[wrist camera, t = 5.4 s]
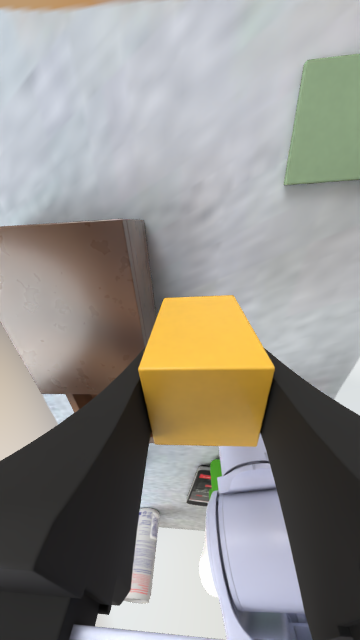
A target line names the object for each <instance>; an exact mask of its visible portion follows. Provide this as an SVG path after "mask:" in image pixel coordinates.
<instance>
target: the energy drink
mask: <svg viewBox="0 0 360 640" xmlns="http://www.w3.org/2000/svg"><path fill="white" fill-rule="evenodd" d="M158 524H159V512H158V511H157V510H155V509H152V508H141V509H140V511H139V519H138V527H137V536H136V545H135V554H134V563H133V572H132V582H131V590H130V592H129V593H128V595H127V597H126V598H125V599H124V600H125V601H128V602H133V603H149V599H150V596H151V589H152V579H153V569H154V561H155V552H156V542H157V533H158Z"/></svg>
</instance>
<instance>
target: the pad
mask: <svg viewBox="0 0 360 640" xmlns="http://www.w3.org/2000/svg"><path fill="white" fill-rule="evenodd" d="M349 180H360V54H353V55H345V56H337V57H328V58H320V59H312V60H307V61H306V63H305V64H304V67H303V73H302V79H301V85H300V91H299V97H298V103H297V109H296V115H295V121H294V127H293V133H292V139H291V145H290V151H289V156H288V162H287V168H286V174H285V180H284V185H295V184H308V183H322V182H335V181H349Z"/></svg>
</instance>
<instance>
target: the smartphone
mask: <svg viewBox="0 0 360 640" xmlns="http://www.w3.org/2000/svg"><path fill="white" fill-rule="evenodd" d="M211 488H212V486H211V473H210V467H208V466H199V467H198V469H197V472H196V475H195V478H194V480H193V483H192V486H191V488H190V491H189V494H188V497H187V503H188V504H192V505H200V506H207V505H208V502H209V490H210V489H211Z"/></svg>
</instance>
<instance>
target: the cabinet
mask: <svg viewBox="0 0 360 640" xmlns="http://www.w3.org/2000/svg"><path fill="white" fill-rule="evenodd" d="M155 321H156V311H155V303H154V295H153V287H152V279H151V272H150V264H149V256H148V248H147V240H146V232H145V225H144V220H134V219H110V220H94V221H79V222H63V223H48V224H33V225H17V226H2V227H0V322H1V324H2V326H3V328H4V329H5V331H6V333H7V335H8V336H9V338H10V340H11V341H12V343H13V345H14V347H15V349H16V350H17V352H18V354H19V355H20V357H21V359H22V361H23V362H24V364H25V366H26V368H27V369H28V371H29V373H30V375H31V376H32V378H33V380H34V382H35V383H36V385H37V386H38V388H39V390H40V392H41V394H99V393H100V392H102V391H103V390H104V389H105V388H106V387H107V386H108V385H109V384H110V383H111V382H112V381H113V380H114V379H116V378H117V377H118V376H119V375H120V374H121V373H122V372H123V371H124V370H125V368H126V367H127V366H128V365H129V364H130V363H131V362H132V361H133V360H134V359H135V358H136V357H137V355H138V354H139V353H140V352H141V351H142V350H143V349H144V348H145V347H146V346H147V343H148V340H149V338H150V335H151V332H152V329H153V327H154V324H155Z"/></svg>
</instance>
